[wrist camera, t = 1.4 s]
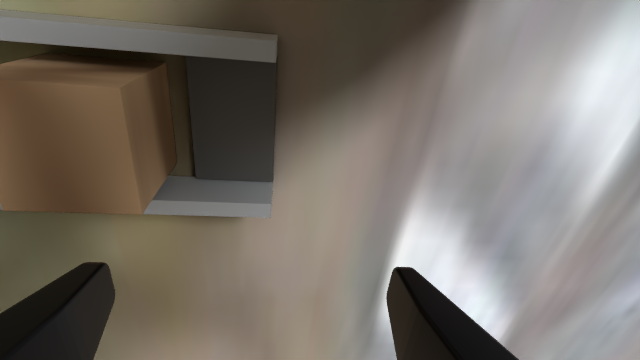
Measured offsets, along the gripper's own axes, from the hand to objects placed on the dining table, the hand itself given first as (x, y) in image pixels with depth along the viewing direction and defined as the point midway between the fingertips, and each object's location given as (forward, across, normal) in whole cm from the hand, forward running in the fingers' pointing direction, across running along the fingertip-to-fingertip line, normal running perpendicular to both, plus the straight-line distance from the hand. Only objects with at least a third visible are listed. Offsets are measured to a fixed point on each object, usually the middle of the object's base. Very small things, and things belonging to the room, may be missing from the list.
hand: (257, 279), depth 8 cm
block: (+11, +8, 0) cm, 13 cm away
